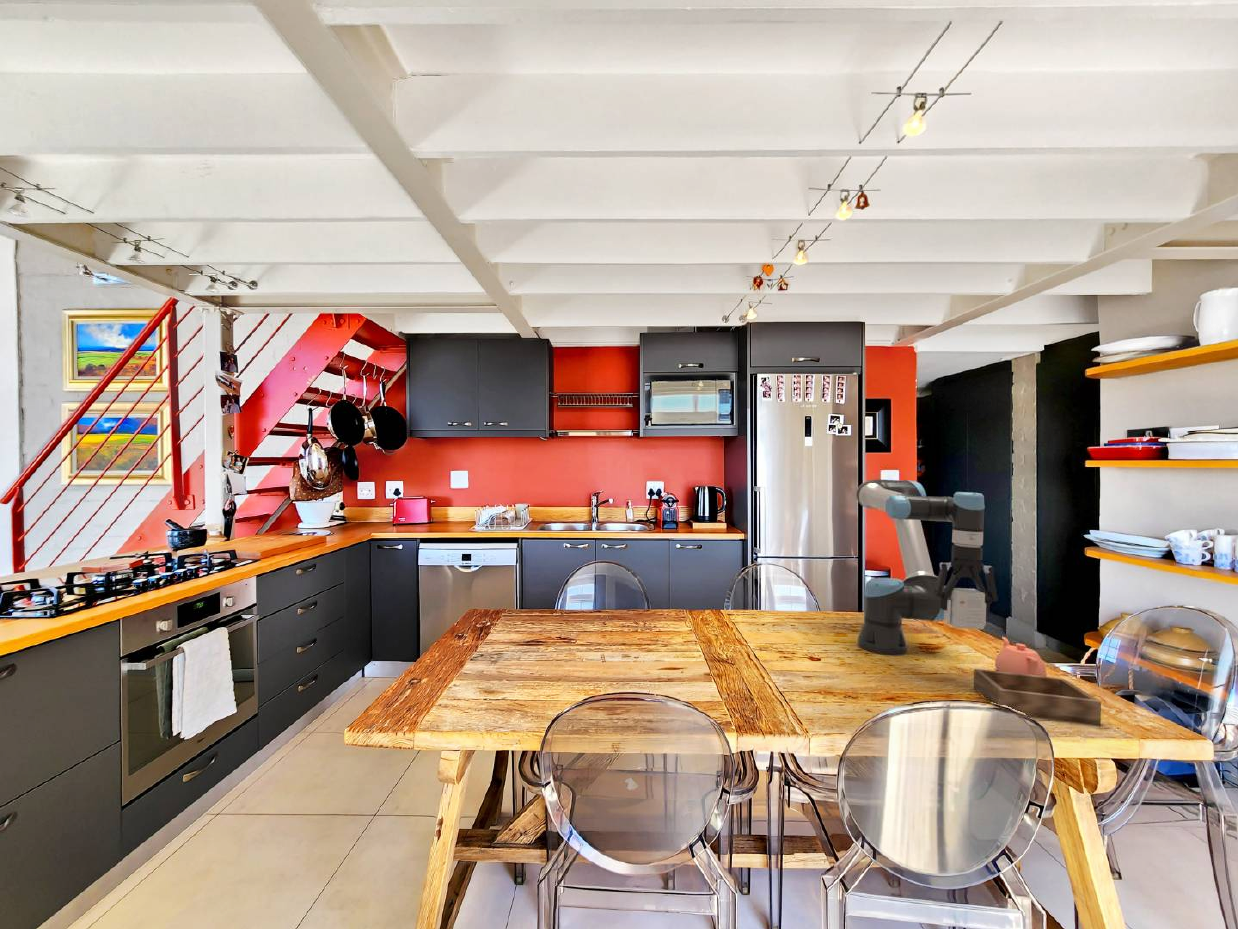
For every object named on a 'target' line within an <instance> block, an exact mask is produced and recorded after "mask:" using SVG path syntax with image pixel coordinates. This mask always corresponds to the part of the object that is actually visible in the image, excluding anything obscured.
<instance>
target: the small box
mask: <svg viewBox="0 0 1238 929" xmlns="http://www.w3.org/2000/svg"><path fill="white" fill-rule="evenodd" d="M948 599H949V600H951V614H950V623H947V622H946V621H945V622H946V624H948V625H950V626H951V627H952V628H955V629H956V628H957V629H970V630H972V629H973V630H984V629H985V626H984V612H985V593H983V592H980V591H978V589H975V588H964V587H963V588H961V587H954V589H953V591H952V592H951V594H950V596H949V598H948Z"/></svg>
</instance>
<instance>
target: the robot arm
mask: <svg viewBox="0 0 1238 929" xmlns="http://www.w3.org/2000/svg"><path fill="white" fill-rule="evenodd" d="M855 496H856V500H857V502H858V503H859V505H861V506H862V507H864V508H867V509H871V510H880V511H883V512H885V513H886V515H887V517H888V518H890V519H892V520H893V522H894V527H895V531H896V536H897V541H898V545H899V546H898V547H899V549H900V555H901V559H902V564H903V568H904V573H905V578H904V579H903V580H902V579H899V578H895V577H894V578H892V577H891V578H890V577H877V578H872V579H869V580H868V581H866V583H865V585H864V586H865V587H864V592H863V595H864V606H863V607H864V608H863V609H864V610H863V623H862V626H861V629H860V632H859V634H858V635H857V646H858V647H860V648H861V649H863V650H865V651H868V652H872V653H876V654H881V655H889V656H890V655H891V656H901V655H905V654H907V653H908V644H907V640H906V637H905V634H904V630H903V625H902V624H903V620H917V621H929V622H943V621H944V622H947V623H946V624H948V623H950V614H951V600H949V599H948V598H949V596H950V594H951V592H952V591H953V589H954V588H956V586H957V584H958V582H959V581H960V580H961V578H970V579H971V580H972V581H973V583H974V585H975V586H976V590H978V591H980V592H983V593H985V612H984V627H986V626H987V623H986V620H987V615H989V614H990V613H991V612H990V610H991V609H990V608H991V604H993V603H992V602H996V603H997V602H998V601H999V598H998V593H997V589H996V583H995V582H996V581H995V578H994V575H995V567H993V566H991V565H984V563H983V553H984V552H983V550H984V549H983V548H982V547H981V546H983V545H984V544H983V543H984V523H985V508H986V506H985V497H984V495H983V494H982V493H979V492H969V491H968V492H966V491H965V492H963V491H956V492H955V493H954V494H953V497H951V496H927V494H926V490H925V488H924V487H923V485H922V484H921V483H920V482H918V481H914V480H908V479H903V480H900V479H899V480H898V479H896V480H895V479H881V478H880V479H878V478H876V479H869V480H867V481H864V482H862V483H861V484H860V485H859V486H858V487H857V489H856V492H855ZM921 521H931V522H933V521H934V522H949V523H952V532H951V534H952V535H951V536H952V537H951V538H952V539H951V543H953V544H952V545H951V560H950V561H949V562H941V561H940V562H939V564H938V565H939V566H938V568H939V572H938V575H935V573H934V570H933V566H932V561H931V558H930V554H929V549H928V546H927V542H926V537H925V535H924V529H923V525H922V522H921ZM950 569H952V570H953V571H952V573H951V575H950V578H949V580H948V582H947V583H946V584H945V582H946V579H947V575H948V571H949V570H950ZM981 571H983V572H984V576H985V582H986V587H985V586H984V583H983V581H982V578H981V576H980V572H981ZM986 588H987V590H986Z"/></svg>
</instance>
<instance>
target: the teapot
mask: <svg viewBox="0 0 1238 929" xmlns="http://www.w3.org/2000/svg"><path fill="white" fill-rule="evenodd" d="M1001 638H1002V641H1003V648H1002V649H1001V650H1000V651H999V653H998V654H997V656H996V658H995V663H994V666H995V667H994V668H996V670H997V671H999V672H1008V673H1017V674H1026V675H1035V676H1044V677H1048V676H1047V674H1048V673H1047V670H1046V666H1045V663H1044V662H1043V659H1042V658H1041V656H1040V655H1039V653H1038V652H1037V651H1035V650H1034V649H1032V648H1028V647H1027V645H1026V644H1023V643H1015V645H1011V644H1010V641H1009V640H1008V638H1006V637H1005V636H1001Z"/></svg>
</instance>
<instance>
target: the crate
mask: <svg viewBox="0 0 1238 929" xmlns="http://www.w3.org/2000/svg"><path fill="white" fill-rule="evenodd" d="M973 690H974V691H975V692H977V693H978V694H979V693H980V694H982V695H983V696H984V698H986V699H985V700H986V701H987V702H988V701H989V702H993V703H996V704H999V705H1006V706H1008V707H1011V708H1012V709H1015V710H1017V711H1020V712H1023V713H1025V714H1026V715H1028V716H1027V717H1033V718H1034V717H1035V718H1041V719H1042V718H1043V719H1050V720H1057V721H1067V722H1073V723H1082V724H1089V725H1097V726H1101V723H1102V722H1101V720H1102V701H1100V700H1098V699H1097V698H1095V697H1094V696H1092V695H1091V694H1089V693H1087V692H1086V691H1084V690H1082V689H1081V688H1079V687H1078V686H1076V685H1074V684H1073V683H1072V682H1070V681H1068V680H1067V679H1065V678H1062V677H1061V678H1060V677H1053V676H1047V677H1044V676H1035V675H1026V674H1017V673H1008V672H999V671H998V670H997V671H996V670H988V669H978V668H973ZM980 694H979V695H980ZM989 702H988V703H989Z"/></svg>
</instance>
